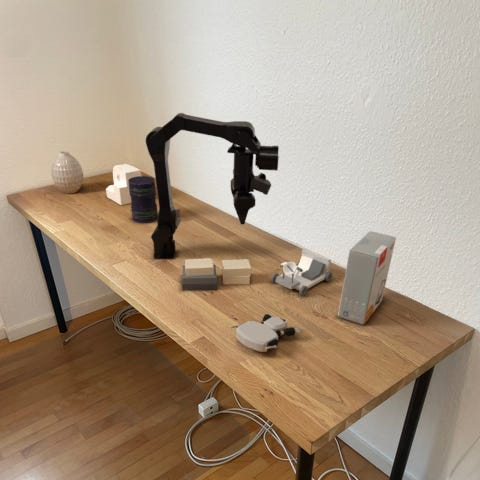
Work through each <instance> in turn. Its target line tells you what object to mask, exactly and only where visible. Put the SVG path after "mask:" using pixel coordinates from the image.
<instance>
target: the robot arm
mask: <svg viewBox="0 0 480 480" xmlns="http://www.w3.org/2000/svg"><path fill="white" fill-rule="evenodd" d="M181 131H185V132H191V133H195V134H199V135H200V134H201V135H206V136H211V137H215V138H220V139H223V140H225V141H227V142H229V143H231V145H230V146H229V147H228V149H227V151H226V153H228V154H233V169H232V175H233V176H232V177H233V178H231V179H230V181H229V182H230V185H229V187H230V193H231V195H232V198H233V199H232V200H233V201H232V202H233V207H234V210H235V212H236V216H237V217H238V221H239V224H240V225H245V224H246V221H247V218H248V214H249V211H250V210H251V209H253V208H255V207H256V200H257V199H256V197H255V195H254V194H253V193H254V192H255V191H256V192H259V193H262V194H263V195H266V196H267V195H268V194H269V192H270V190H271V188H272V183H271V181H270V180H269V179H267V176H266V173H263V172H260V173H259V174H258V175H255V174H254V166H255V167H256V168H258V170H260V171H279V170H278V168H279V158H280V156H279V149H280V146H279V145H261V142H260V140H259V139H258V137H257V135H256V129H255V126H254V125H253V124H252V123H251V122H249V121H244V120H241V121H240V120H239V121H236V120H234V121H221V120H215V119H210V118H205V117H200V116H195V115H189V114H186V113H184V112H178V113H177V114H176V115H175V116H174V117H173V118H172V119H171V120H169V121H167V123H165V124H164V125H163V126H156V127H154V128H153V129H151V131H149V133H148V134H147V135H146V137H145V146H146V148H147V153H148V155H149V157H150V158H151V160H152V163H153V170H154V176H155V177H154V179H155V186H156V194H157V201H158V213H157V216H158V219H157V225H156V227H155V228H154V230H153V232H152V234H151V235H150V239H151V240H152V242H153V259H156V260H158V259H160V260H161V259H174V258H175V255H176V252H177V249H176V248H177V247H176V245H177V244H176V240H175V239H174V235H175V233H176V231H177V229H178V227H179V226H180V223H181V222H182V219H181V217H180V208H179V209H178V208H177V209H176V208H175V206H174V202H173V194H172V193H173V192H172V185H171V177H170V176H171V175H170V168H169V167H170V166H169V155H170V148H171V147H170V144H171V140H172V138H173V137H175V136H176V135H177V134H178V133H179V132H181ZM254 155H255V159H254Z"/></svg>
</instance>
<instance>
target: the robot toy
mask: <svg viewBox="0 0 480 480" xmlns="http://www.w3.org/2000/svg"><path fill="white" fill-rule="evenodd" d="M228 328H229V329H234V328H235V337H236V339H237V340H238V342H240V343H241V344H242V345H243V346H245V347H246V348H248V349H250V350H253V351H256V352H260V353H266V352H269V351H271V350H273V349H277V347H278V343H279V337H282V336H283V335H284V336H286V337H292V336H293V337H295V335H296V334H300V333H301V330H300V328H298V327H294V326H291V327H290V326H289V327H288V320H286V319H284V318H283V317H280V316H273V314H271V313H266V314H264V316H263V317H262V321H261V322H258V321H255V320H248V321H245V322H242V323H241V324H238V325H234V326H233V325H232V326H231V325H230V326H229V327H228Z"/></svg>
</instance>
